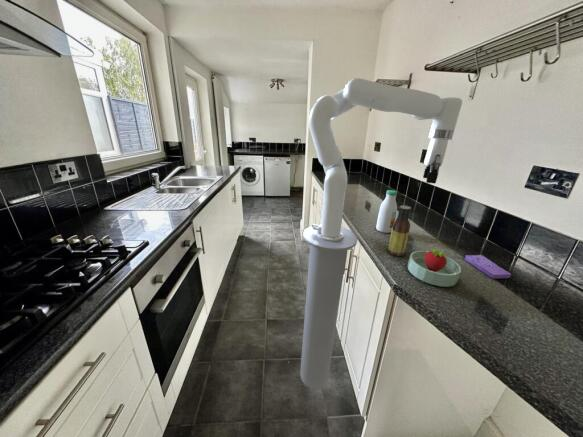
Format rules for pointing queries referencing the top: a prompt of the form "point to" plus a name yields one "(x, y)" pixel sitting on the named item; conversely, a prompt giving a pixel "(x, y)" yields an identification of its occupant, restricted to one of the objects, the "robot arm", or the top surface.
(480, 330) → the top surface
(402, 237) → the sauce bottle
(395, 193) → the milk bottle
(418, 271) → the bowl
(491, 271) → the sponge
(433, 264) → the strawberry
